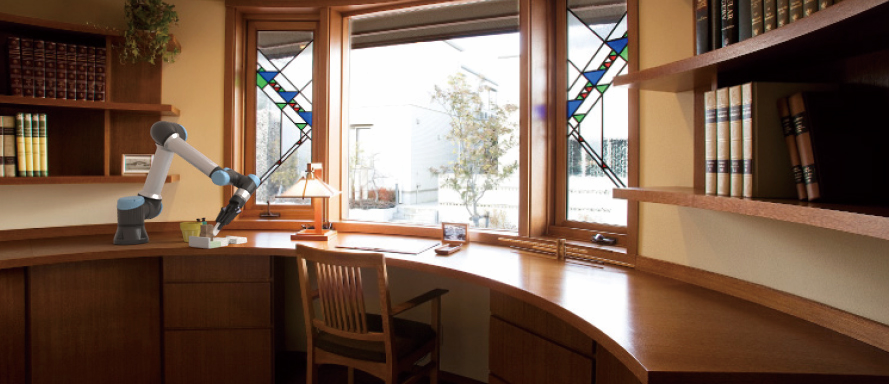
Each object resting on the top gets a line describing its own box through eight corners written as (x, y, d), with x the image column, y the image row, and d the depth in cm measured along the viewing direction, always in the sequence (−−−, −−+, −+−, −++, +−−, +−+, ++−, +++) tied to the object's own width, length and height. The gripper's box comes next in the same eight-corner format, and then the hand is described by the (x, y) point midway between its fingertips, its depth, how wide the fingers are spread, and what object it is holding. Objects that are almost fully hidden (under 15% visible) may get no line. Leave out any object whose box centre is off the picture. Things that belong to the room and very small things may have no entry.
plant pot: (206, 240, 267) (206, 221, 266) (195, 243, 256) (194, 223, 256) (188, 239, 268) (187, 221, 267) (175, 242, 257) (175, 223, 257)
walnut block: (207, 240, 249) (207, 224, 248) (213, 240, 247) (213, 224, 247) (200, 241, 245) (200, 225, 245) (206, 241, 244) (205, 225, 243)
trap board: (227, 240, 266) (227, 231, 266) (247, 242, 260) (246, 232, 260) (189, 246, 246) (188, 236, 245) (208, 248, 239) (208, 238, 239)
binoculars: (193, 218, 285) (209, 216, 283) (195, 236, 285) (211, 235, 284) (183, 219, 276) (199, 218, 274) (185, 238, 276) (201, 237, 275)
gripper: (252, 204, 263) (226, 239, 249) (234, 203, 268) (208, 238, 254) (244, 194, 258) (217, 230, 244) (226, 193, 263) (198, 228, 249)
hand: (212, 234), depth 249 cm, fingers closed
